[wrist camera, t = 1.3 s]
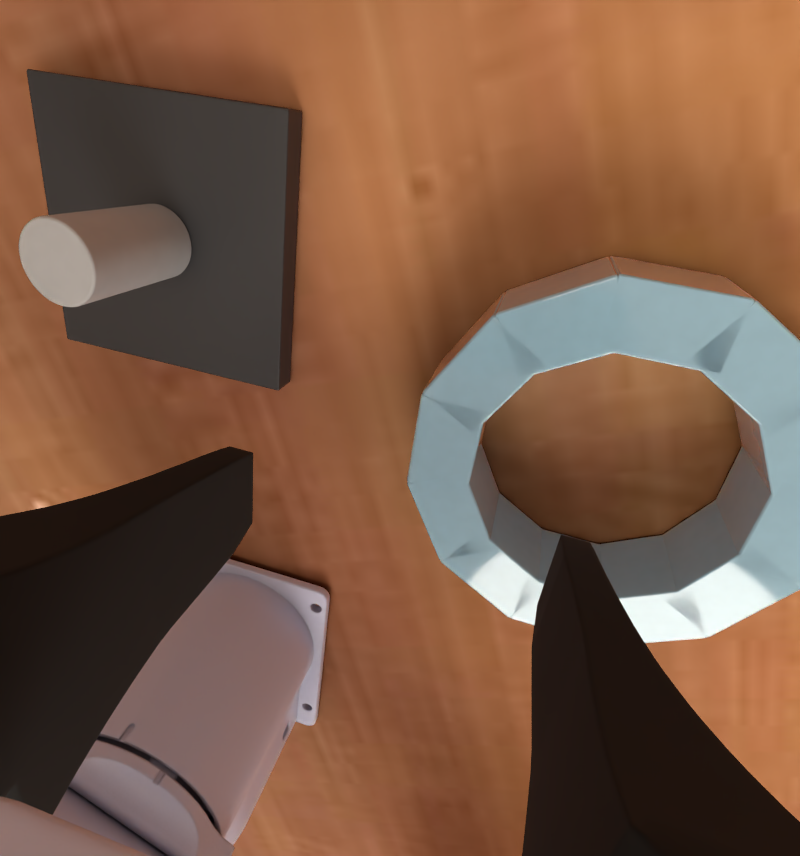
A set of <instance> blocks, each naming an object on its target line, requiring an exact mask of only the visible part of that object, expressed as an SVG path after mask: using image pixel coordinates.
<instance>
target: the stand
mask: <svg viewBox="0 0 800 856" xmlns="http://www.w3.org/2000/svg"><path fill="white" fill-rule="evenodd" d="M27 77H28V83H29V90H30V96H31V103H32V109H33V116H34V122H35V129H36V135H37V142H38V149H39V155H40V162H41V168H42V175H43V181H44V188H45V194H46V201H47V207H48V214H49V215H46V216H39V217H36V218H34V219H32V220H31V221H29V222H28V223H27V224H26V225H25V226H24V228H23V230H22V232H21V234H20V239H19V254H20V259H21V263H22V266H23V268H24V270H25V273H26V275H27V276H28V278H29V280H30V281H31V283H32V284H33V285H34V287H35V288H36V289H37V290H38V291H39V292H40V293H41V294H42V295H43V296H44V297H46V298H47V299H48V300H50V301H52V302H54V303H56V304H58V305H61V306H63V312H64V318H65V325H66V331H67V338H68V339H70V340H74V341H79V342H83V343H87V344H91V345H95V346H99V347H103V348H107V349H111V350H115V351H119V352H123V353H127V354H132V355H136V356H140V357H144V358H148V359H152V360H156V361H160V362H164V363H168V364H172V365H176V366H181V367H185V368H189V369H193V370H197V371H201V372H205V373H209V374H213V375H217V376H221V377H225V378H229V379H234V380H238V381H242V382H246V383H250V384H254V385H258V386H262V387H266V388H270V389H274V390H280V389H281V388H282V387H283V386H285V385H286V384H287V383H288V382H290V369H291V347H292V325H293V303H294V281H295V259H296V237H297V215H298V193H299V171H300V149H301V127H302V111H300V110H294V109H288V108H282V107H275V106H269V105H262V104H256V103H249V102H242V101H236V100H229V99H223V98H216V97H209V96H203V95H196V94H190V93H183V92H176V91H170V90H163V89H157V88H150V87H144V86H137V85H130V84H124V83H117V82H111V81H104V80H97V79H91V78H84V77H78V76H71V75H64V74H58V73H51V72H45V71H38V70H31V69H27Z"/></svg>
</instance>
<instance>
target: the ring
mask: <svg viewBox="0 0 800 856" xmlns="http://www.w3.org/2000/svg"><path fill="white" fill-rule="evenodd" d="M612 353H617V354H622V355H626V356H631V357H636V358H641V359H645V360H650V361H655V362H660V363H664V364H669V365H674V366H679V367H684V368H688V369H693V370H698V371H701V372H702V373H703V374H704V375H705V376H706V377H707V378H708V379H709V380H710V381H712V382H713V383H714V384H715V385H716V386H717V387H718V388H719V389H720V390H721V391H723V392H724V393H725V394H726V395H727V396H728V397H729V398H730V399H731V400H732V401H733V402H734V407H735V412H736V418H737V423H738V428H739V433H740V438H741V444H742V447H741V449H740V451H739V454H738V456H737V458H736V460H735V462H734V464H733V466H732V468H731V470H730V472H729V474H728V476H727V478H726V480H725V482H724V484H723V486H722V488H721V490H720V492H719V494H718V496H717V498H716V500H714V501H713V502H711V503H710V504H708V505H707V506H705V507H704V508H702V509H701V510H699V511H698V512H696V513H695V514H693V515H692V516H690V517H689V518H687V519H686V520H684V521H683V522H681V523H680V524H678V525H677V526H675V527H674V528H672V529H670V530H669V531H667V532H666V533H664V534H663V535H658V536H651V537H644V538H638V539H631V540H624V541H617V542H611V543H604V544H596V543H593V542H590V543H591V545H592V546H593V548H594V550H595V552H596V554H597V556H598V558H599V560H600V563H601V565H602V567H603V569H604V571H605V573H606V575H607V577H608V579H609V581H610V583H611V585H612V587H613V589H614V591H615V592H616V594H617V596H618V598H619V600H620V602H621V603H622V605H623V607H624V609H625V611H626V612H627V614H628V616H629V618H630V619H631V621H632V623H633V625H634V626H635V628H636V630H637V631H638V633H639V635H640V636H641V638H642V639H643V641H644V643H652V642H664V641H677V640H689V639H702V638H707V637H711V636H712V635H714V634H716V633H718V632H720V631H722V630H724V629H726V628H728V627H730V626H732V625H733V624H735V623H737V622H739V621H741V620H743V619H745V618H747V617H749V616H751V615H753V614H754V613H756V612H758V611H760V610H762V609H764V608H766V607H768V606H770V605H772V604H774V603H775V602H777V601H779V600H781V599H783V598H785V597H787V596H789V595H791V594H793V593H794V592H796V591H798V590H800V340H799V339H798V338H797V337H796V336H795V335H794V334H793V333H792V332H791V331H790V330H788V329H787V328H786V327H785V326H784V325H783V324H782V323H781V322H780V321H779V320H778V319H777V318H776V317H775V316H774V315H773V314H771V313H770V312H769V311H768V310H767V309H766V308H765V307H764V306H763V305H762V304H761V303H760V302H759V301H758V300H756V299H755V298H754V297H752V296H751V295H750V294H748V293H747V292H746V291H744V290H743V289H742V288H740V287H739V286H738V285H736V284H735V283H734V282H732V281H731V280H730V279H728V278H725V277H724V276H722V275H716V274H711V273H705V272H699V271H694V270H688V269H683V268H677V267H672V266H666V265H661V264H655V263H650V262H644V261H639V260H633V259H628V258H622V257H617V256H611V257H604V258H601V259H598V260H595V261H592V262H589V263H586V264H583V265H580V266H577V267H574V268H571V269H568V270H565V271H562V272H559V273H557V274H554V275H551V276H548V277H545V278H542V279H539V280H536V281H533V282H530V283H527V284H524V285H521V286H518V287H515V288H512V289H509V290H507V291H505V293H502V294H501V295H500V296H499V297H498V298H497V300H496V301H495V302H494V303H493V304H492V305H491V306H490V307H489V308H488V310H487V311H486V312H485V313H484V314H483V315H482V316H481V317H480V318H479V319H478V321H477V322H476V323H475V324H474V325H473V326H472V327H471V328H470V329H469V331H468V332H467V333H466V334H465V335H464V336H463V337H462V338H461V339H460V341H459V342H458V343H457V344H456V345H455V346H454V347H453V348H452V349H451V350H450V352H449V353H448V354H447V355H446V356H445V357H444V358H443V359H442V361H441V362H440V364H439V366H438V367H437V369H436V370H435V372H434V374H433V375H432V377H431V379H430V380H429V382H428V384H427V385H426V387H425V389H424V390H423V393H422V395H421V398H420V404H419V410H418V416H417V422H416V428H415V434H414V440H413V446H412V452H411V458H410V464H409V470H408V476H407V481H408V482H407V484H408V487H409V489H410V492H411V494H412V496H413V499H414V501H415V503H416V506H417V508H418V510H419V513H420V515H421V517H422V520H423V522H424V524H425V527H426V529H427V532H428V534H429V536H430V539H431V541H432V543H433V546H434V548H435V550H436V553H437V555H438V557H439V560H441V563H443V564H444V565H445V566H446V567H447V568H449V569H450V570H451V571H452V572H454V573H455V574H456V575H457V576H458V577H460V578H461V579H462V580H463V581H464V582H466V583H467V584H468V585H469V586H471V587H472V588H473V589H474V590H475V591H477V592H478V593H479V594H480V595H481V596H483V597H484V598H485V599H486V600H488V601H489V602H490V603H491V604H492V605H494V606H495V607H496V608H497V609H498V610H500V611H501V612H502V613H503V614H505V615H506V616H507V617H509V618H511V619H514V620H517V621H521V622H524V623H527V624H531V625H535V617H536V610H537V604H538V601H539V598H540V595H541V592H542V589H543V586H544V583H545V580H546V577H547V574H548V571H549V568H550V565H551V562H552V559H553V556H554V553H555V550H556V547H557V545H558V542H559V539H560V536H561V535H563V534H559V533H555V532H552V531H548V530H544V529H542V528H541V527H539V526H538V525H537V524H536V523H535V522H533V521H532V520H531V519H530V518H529V517H528V516H526V515H525V514H524V513H523V512H522V511H520V510H519V509H518V508H517V507H516V506H515V505H513V504H512V503H511V502H510V501H509V500H507V499H506V498H505V497H504V496H503V495H502V494H500V493H499V491H498V488H497V485H496V482H495V480H494V477H493V474H492V471H491V469H490V466H489V463H488V460H487V458H486V455H485V452H484V449H483V447H482V444H481V442H482V438H483V434H484V430H485V425H486V421H487V420H488V419H489V418H490V417H491V416H492V415H493V414H494V413H495V412H496V411H497V410H498V409H499V408H500V407H501V406H502V405H504V404H505V403H506V402H507V401H508V400H509V399H510V398H511V397H512V396H513V395H514V394H515V393H516V392H517V391H518V390H519V389H520V388H521V387H522V386H523V385H524V384H525V383H526V382H527V381H528V380H530V379H531V378H532V377H533V376H534V375H535V374H539V373H542V372H546V371H550V370H553V369H557V368H561V367H565V366H568V365H572V364H576V363H579V362H583V361H587V360H590V359H594V358H598V357H601V356H605V355H609V354H612ZM565 536H567V535H565ZM569 537H570V536H569ZM573 538H574V537H573ZM576 539H578V538H576ZM580 540H582V539H580ZM584 541H585V540H584ZM588 542H589V541H588Z"/></svg>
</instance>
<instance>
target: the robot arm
mask: <svg viewBox="0 0 800 856" xmlns="http://www.w3.org/2000/svg"><path fill="white" fill-rule="evenodd" d="M252 511H253V453H252V452H248V451H244V450H241V449H237V448H233V447H227V448H223V449H220V450H217V451H214V452H211V453H209V454H206V455H203V456H201V457H198V458H196V459H193V460H190V461H188V462H185V463H183V464H180V465H177V466H175V467H172V468H170V469H167V470H164V471H162V472H159V473H156V474H154V475H151V476H148V477H146V478H143V479H140V480H137V481H134V482H131V483H128V484H125V485H122V486H119V487H116V488H113V489H110V490H107V491H104V492H101V493H98V494H95V495H91V496H88V497H84V498H81V499H77V500H73V501H69V502H65V503H61V504H57V505H53V506H49V507H45V508H40V509H35V510H30V511H25V512H20V513H15V514H10V515H4V516H0V856H231V855H232V853H233V851H234V846H233V844H234V843H235V842H236V840H237V839H238V837H239V836H240V835H241V833H242V831H243V830H244V828H245V826H246V824H247V822H248V820H249V818H250V816H251V814H252V811H253V809H254V807H255V805H256V803H257V801H258V799H259V797H260V795H261V793H262V791H263V788H264V786H265V784H266V782H267V780H268V778H269V776H270V774H271V772H272V770H273V767H274V765H275V763H276V761H277V759H278V757H279V755H280V753H281V751H282V749H283V747H284V744H285V742H286V740H287V738H288V736H289V734H290V732H291V730H292V728H293V726H294V723H295V721H296V722H299V723H302V724H305V725H313V724H315V722H316V720H317V717H318V709H319V700H320V690H321V680H322V671H323V661H324V651H325V641H326V632H327V622H328V612H329V602H330V595H329V593H328V591H327V590H326V589H324V588H323V587H320V586H317V585H314V584H310V583H307V582H304V581H301V580H297V579H294V578H291V577H288V576H284V575H281V574H278V573H274V572H271V571H268V570H265V569H261V568H258V567H255V566H252V565H248V564H245V563H242V562H238V561H235V560H232V559H229V558H230V557H231V556H232V554H233V553H234V551H235V550H236V548H237V547H238V545H239V544H240V542H241V540H242V539H243V537H244V535H245V534H246V532H247V530H248V529H249V527H250V525H251V524H252ZM316 604H318V605H319V606H317V605H316ZM522 856H800V822H799V821H798V820H797V819H796V818H795V817H794V816H793V815H792V814H791V813H790V812H788V811H787V810H786V809H785V808H784V807H783V806H782V805H781V804H780V803H779V802H778V801H777V800H776V799H775V798H774V797H773V796H772V795H771V794H770V793H769V792H768V791H767V790H766V789H765V788H764V787H763V786H762V785H761V784H760V783H759V782H758V781H757V780H756V779H755V778H754V777H753V776H752V775H751V774H750V773H749V772H748V771H747V770H746V769H745V767H744V766H743V765H742V764H741V763H740V762H739V761H738V760H737V759H736V758H735V757H734V756H733V755H732V754H731V753H730V752H729V750H728V749H727V748H726V747H725V746H724V745H723V744H722V742H721V741H720V740H719V739H718V738H717V737H716V736H715V735H714V733H713V732H712V731H711V730H710V729H709V728H708V727H707V725H706V724H705V723H704V722H703V721H702V720H701V718H700V717H699V716H698V715H697V714H696V712H695V711H694V710H693V709H692V708H691V706H690V705H689V704H688V703H687V701H686V700H685V699H684V697H683V696H682V695H681V694H680V692H679V691H678V690H677V688H676V687H675V686H674V684H673V683H672V682H671V680H670V679H669V678H668V676H667V675H666V674H665V672H664V671H663V670H662V668H661V667H660V665H659V664H658V663H657V661H656V660H655V658H654V657H653V655H652V653H651V652H650V650H649V649H648V647H647V646H646V644H645V643H644V641H643V639H642V638H641V636H640V635H639V633H638V631H637V630H636V628H635V626H634V625H633V623H632V621H631V619H630V618H629V616H628V614H627V612H626V611H625V609H624V607H623V605H622V603H621V602H620V600H619V598H618V596H617V594H616V592H615V591H614V589H613V587H612V585H611V583H610V581H609V579H608V577H607V575H606V573H605V571H604V569H603V567H602V565H601V563H600V560H599V558H598V556H597V554H596V552H595V550H594V548H593V546H592V545H591V543H590V542H588V541H584V540H580V539H576V538H573V537H569V536H565V535H561V536H560V539H559V542H558V545H557V547H556V550H555V553H554V556H553V559H552V562H551V565H550V568H549V571H548V574H547V577H546V580H545V583H544V586H543V589H542V592H541V595H540V598H539V601H538V604H537V610H536V617H535V625H534V633H533V642H532V754H531V774H530V784H529V795H528V805H527V815H526V825H525V834H524V843H523V853H522Z"/></svg>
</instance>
